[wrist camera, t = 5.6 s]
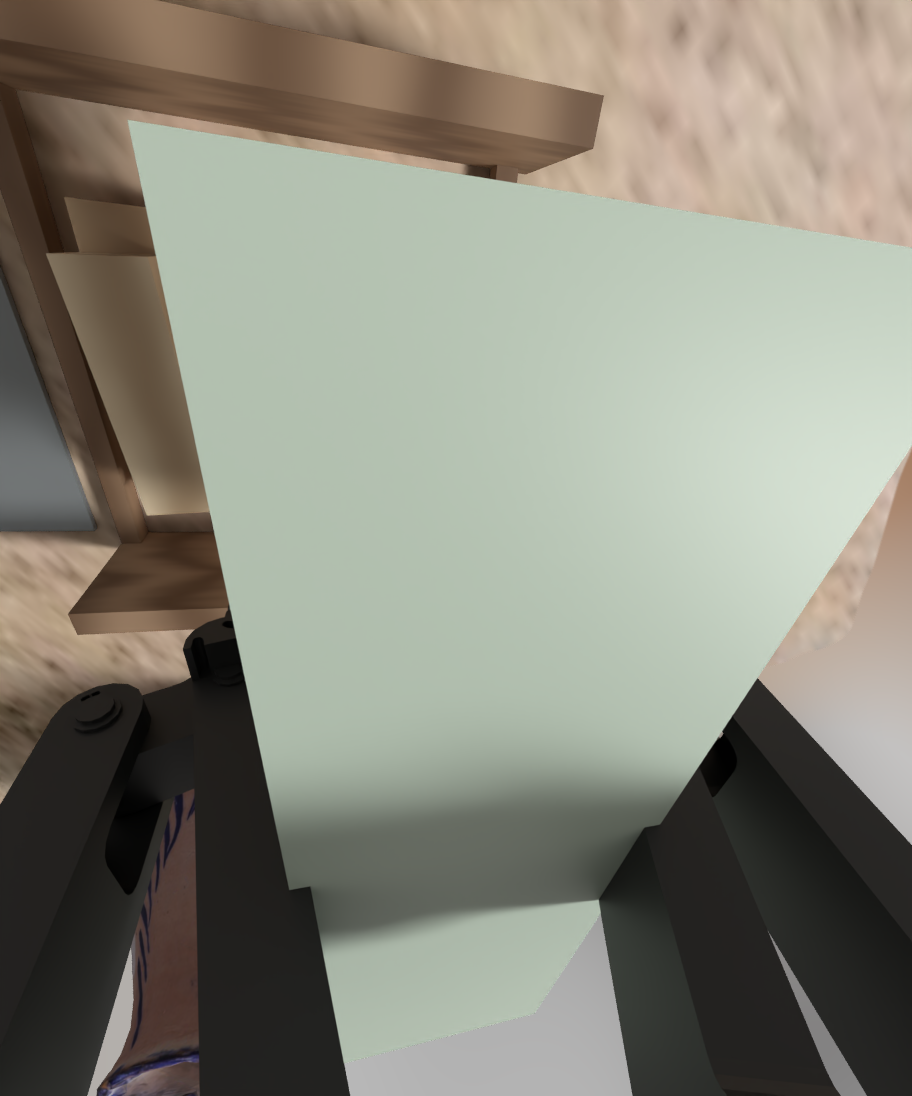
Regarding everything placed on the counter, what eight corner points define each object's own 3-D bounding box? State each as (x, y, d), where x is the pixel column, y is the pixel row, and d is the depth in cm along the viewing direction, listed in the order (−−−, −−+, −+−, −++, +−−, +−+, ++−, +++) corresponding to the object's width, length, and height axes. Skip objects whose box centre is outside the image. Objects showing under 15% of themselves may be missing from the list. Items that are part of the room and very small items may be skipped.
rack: (136, 550, 34) (77, 634, 27) (-33, 32, 20) (-258, -89, 13) (471, 545, 40) (498, 614, 33) (531, 137, 25) (603, 95, 18)
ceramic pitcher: (139, 752, 46) (-28, 1154, 26) (271, 630, 41) (191, 1017, 21) (285, 798, 55) (247, 1123, 35) (409, 704, 50) (448, 1023, 30)
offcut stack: (166, 484, 32) (133, 528, 27) (93, 201, 24) (25, 190, 19) (241, 485, 33) (222, 527, 28) (198, 214, 25) (159, 208, 20)
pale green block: (337, 634, 22) (326, 1068, 10) (316, 224, 13) (127, 118, 2) (440, 628, 23) (534, 1013, 11) (483, 246, 14) (1032, 267, 3)
